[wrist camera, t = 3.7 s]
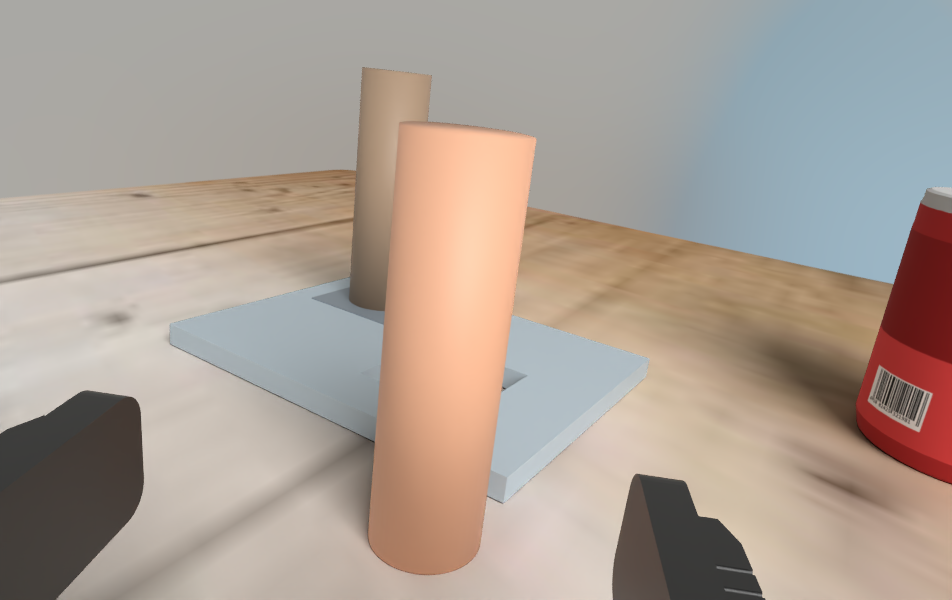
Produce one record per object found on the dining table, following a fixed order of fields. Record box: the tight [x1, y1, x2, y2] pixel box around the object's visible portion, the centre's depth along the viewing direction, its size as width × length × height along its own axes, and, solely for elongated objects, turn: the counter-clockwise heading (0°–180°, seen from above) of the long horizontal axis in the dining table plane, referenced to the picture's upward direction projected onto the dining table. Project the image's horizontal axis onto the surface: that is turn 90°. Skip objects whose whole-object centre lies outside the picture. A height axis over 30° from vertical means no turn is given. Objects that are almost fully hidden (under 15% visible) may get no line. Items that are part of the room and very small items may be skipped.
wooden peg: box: [368, 121, 536, 575], centre depth 19 cm, size 3×3×12 cm
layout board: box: [170, 67, 649, 503], centre depth 31 cm, size 18×14×13 cm
